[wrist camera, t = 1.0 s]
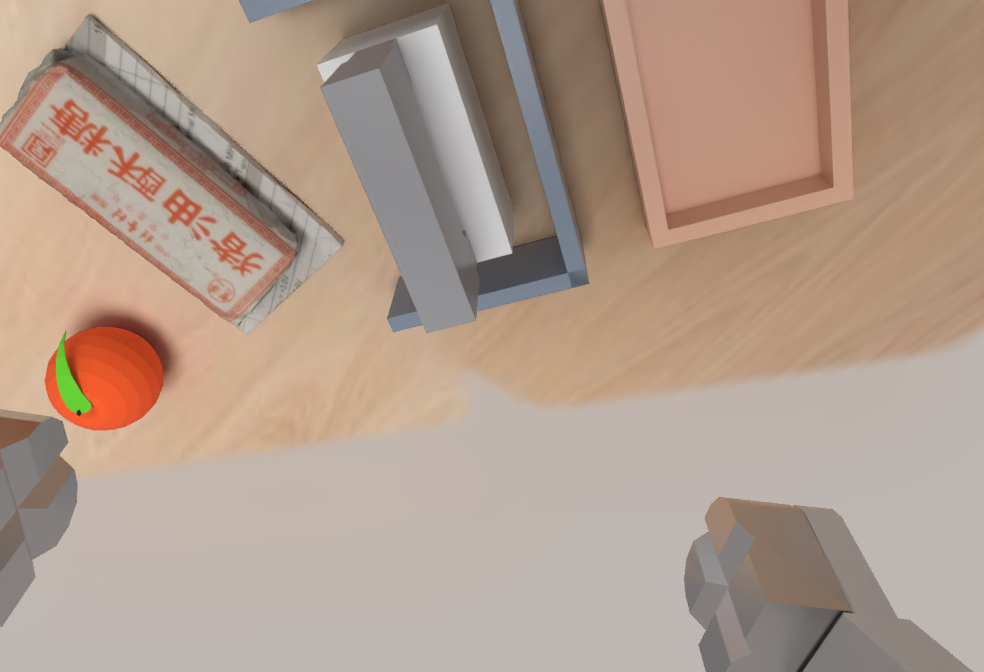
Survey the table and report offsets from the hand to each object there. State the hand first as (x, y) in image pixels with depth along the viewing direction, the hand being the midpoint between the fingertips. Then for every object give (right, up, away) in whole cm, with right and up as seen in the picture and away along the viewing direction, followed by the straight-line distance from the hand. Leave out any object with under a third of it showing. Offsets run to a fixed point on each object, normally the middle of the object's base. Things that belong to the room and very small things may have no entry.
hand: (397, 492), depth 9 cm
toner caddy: (-2, +14, +31) cm, 34 cm away
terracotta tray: (+13, +17, +29) cm, 36 cm away
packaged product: (-18, +11, +34) cm, 40 cm away
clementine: (-25, +2, +41) cm, 47 cm away
